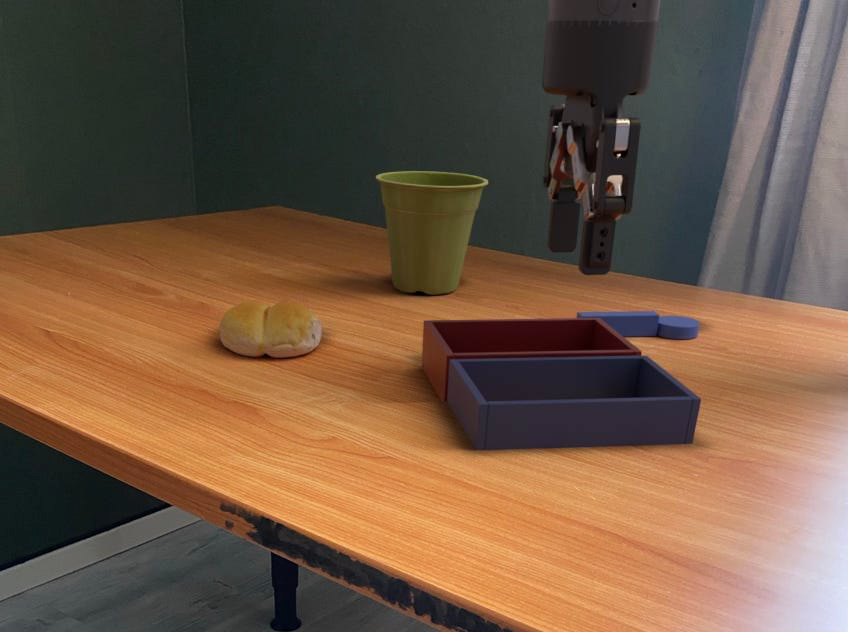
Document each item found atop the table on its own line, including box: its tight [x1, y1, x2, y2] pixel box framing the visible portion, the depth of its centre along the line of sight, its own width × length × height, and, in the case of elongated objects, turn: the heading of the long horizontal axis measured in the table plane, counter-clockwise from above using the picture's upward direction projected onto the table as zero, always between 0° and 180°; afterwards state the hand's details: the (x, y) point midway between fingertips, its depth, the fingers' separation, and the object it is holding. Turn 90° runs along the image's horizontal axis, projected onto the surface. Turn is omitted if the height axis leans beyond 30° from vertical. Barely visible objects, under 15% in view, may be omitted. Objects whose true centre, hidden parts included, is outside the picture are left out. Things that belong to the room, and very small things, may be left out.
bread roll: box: [218, 299, 323, 359], centre depth 88 cm, size 8×9×4 cm
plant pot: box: [375, 170, 489, 296], centre depth 107 cm, size 12×12×11 cm
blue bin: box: [446, 355, 702, 452], centre depth 71 cm, size 15×10×4 cm
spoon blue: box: [576, 310, 701, 340], centre depth 95 cm, size 12×4×2 cm, turn 97°
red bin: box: [421, 317, 643, 403], centre depth 80 cm, size 15×10×4 cm
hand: (576, 262), depth 77 cm, fingers open, 8 cm apart
